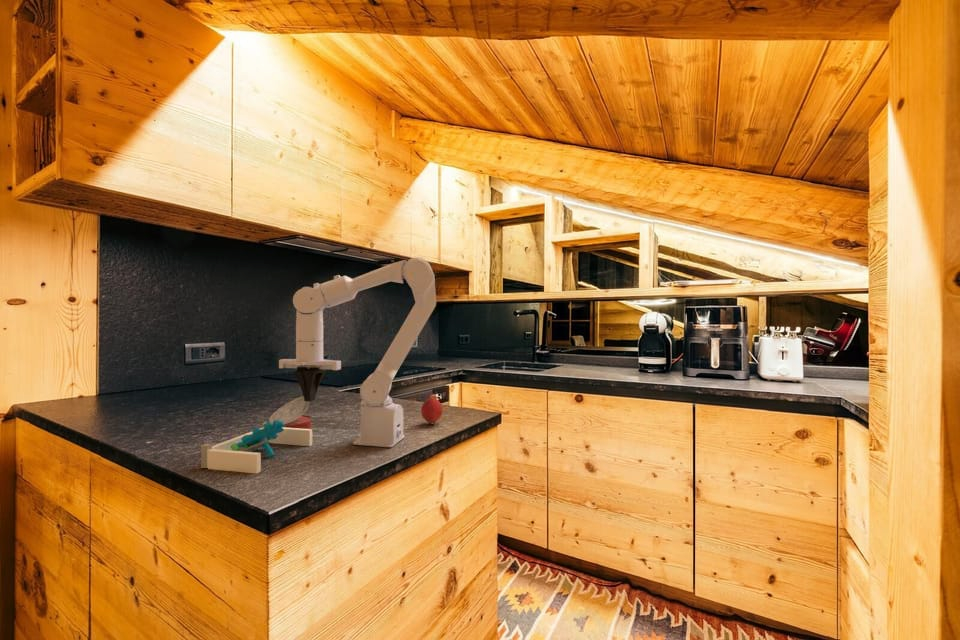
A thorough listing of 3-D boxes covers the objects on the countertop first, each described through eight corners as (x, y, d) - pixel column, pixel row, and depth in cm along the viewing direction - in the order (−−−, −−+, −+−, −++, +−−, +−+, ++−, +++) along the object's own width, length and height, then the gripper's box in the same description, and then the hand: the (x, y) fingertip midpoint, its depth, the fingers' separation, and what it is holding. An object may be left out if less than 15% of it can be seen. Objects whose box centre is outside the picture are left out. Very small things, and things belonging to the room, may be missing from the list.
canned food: (308, 451, 101) (311, 420, 97) (263, 451, 97) (264, 419, 93) (313, 420, 110) (315, 391, 106) (272, 419, 107) (273, 389, 103)
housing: (312, 444, 91) (312, 425, 91) (256, 473, 74) (256, 450, 74) (266, 440, 94) (265, 422, 94) (201, 468, 77) (201, 445, 77)
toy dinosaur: (272, 437, 91) (288, 411, 87) (286, 458, 90) (302, 433, 85) (221, 458, 82) (235, 430, 77) (235, 482, 80) (250, 455, 76)
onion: (428, 428, 105) (428, 397, 105) (417, 423, 109) (417, 394, 109) (446, 424, 109) (447, 395, 109) (435, 420, 113) (435, 391, 113)
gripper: (269, 341, 89) (269, 402, 89) (328, 342, 86) (328, 405, 86) (290, 339, 96) (290, 396, 96) (345, 340, 93) (345, 399, 93)
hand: (309, 400), depth 92 cm, fingers closed
